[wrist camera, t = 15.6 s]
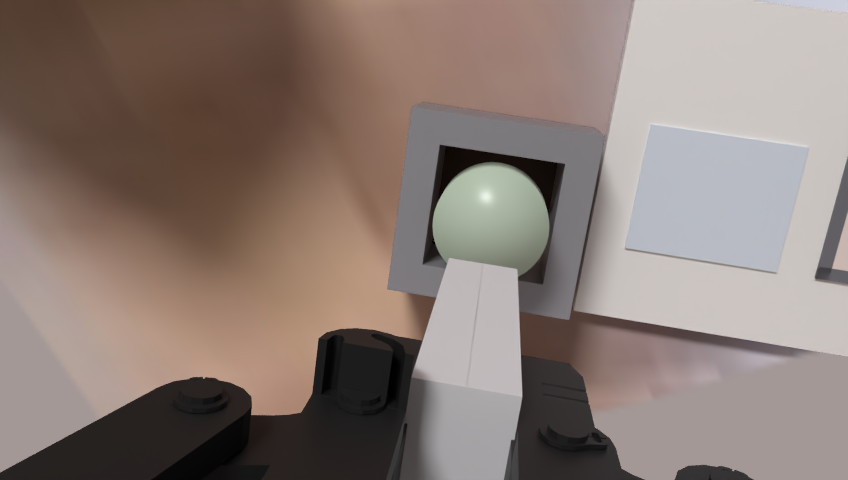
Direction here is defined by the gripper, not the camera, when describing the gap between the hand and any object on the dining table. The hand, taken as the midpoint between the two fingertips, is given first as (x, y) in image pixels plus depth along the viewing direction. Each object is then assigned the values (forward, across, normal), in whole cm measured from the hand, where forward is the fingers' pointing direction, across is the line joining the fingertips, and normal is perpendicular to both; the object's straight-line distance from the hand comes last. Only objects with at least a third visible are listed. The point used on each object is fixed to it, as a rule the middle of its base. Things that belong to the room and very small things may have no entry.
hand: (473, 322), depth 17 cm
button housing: (+15, 0, 0) cm, 15 cm away
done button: (+12, 0, 0) cm, 12 cm away
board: (+15, +13, +3) cm, 20 cm away
